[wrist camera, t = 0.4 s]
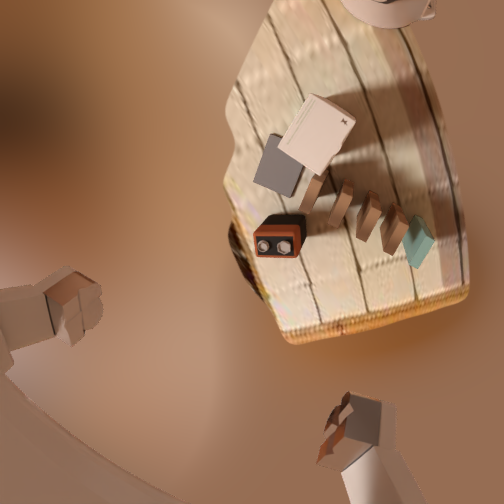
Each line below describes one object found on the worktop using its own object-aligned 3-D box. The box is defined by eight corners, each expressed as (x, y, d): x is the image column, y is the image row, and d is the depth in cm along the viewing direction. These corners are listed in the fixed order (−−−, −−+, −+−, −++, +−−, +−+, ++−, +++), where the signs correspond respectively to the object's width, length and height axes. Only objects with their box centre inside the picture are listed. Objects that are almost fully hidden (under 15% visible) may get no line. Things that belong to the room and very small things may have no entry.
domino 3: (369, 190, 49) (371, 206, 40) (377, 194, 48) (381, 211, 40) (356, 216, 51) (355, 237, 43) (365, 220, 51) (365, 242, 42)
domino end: (415, 214, 48) (426, 235, 39) (422, 218, 47) (434, 240, 39) (401, 239, 50) (409, 264, 41) (409, 243, 50) (417, 269, 41)
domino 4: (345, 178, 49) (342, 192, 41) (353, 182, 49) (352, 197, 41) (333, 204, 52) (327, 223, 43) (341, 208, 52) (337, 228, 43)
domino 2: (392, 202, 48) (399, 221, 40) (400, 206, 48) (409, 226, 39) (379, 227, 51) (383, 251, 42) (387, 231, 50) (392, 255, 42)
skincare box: (324, 97, 45) (310, 87, 31) (359, 119, 45) (360, 120, 31) (297, 138, 49) (273, 146, 36) (331, 160, 49) (320, 178, 35)
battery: (307, 237, 56) (296, 261, 47) (270, 237, 58) (253, 260, 50) (305, 213, 54) (294, 234, 46) (268, 214, 56) (250, 234, 48)
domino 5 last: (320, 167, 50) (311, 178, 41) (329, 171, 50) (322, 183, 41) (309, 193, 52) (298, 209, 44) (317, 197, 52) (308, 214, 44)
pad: (271, 133, 50) (270, 134, 50) (309, 149, 49) (309, 150, 49) (254, 181, 55) (253, 181, 54) (290, 197, 54) (289, 197, 53)
